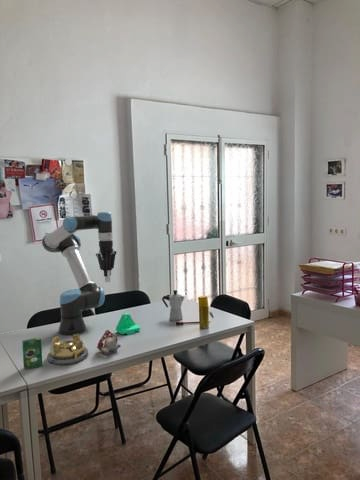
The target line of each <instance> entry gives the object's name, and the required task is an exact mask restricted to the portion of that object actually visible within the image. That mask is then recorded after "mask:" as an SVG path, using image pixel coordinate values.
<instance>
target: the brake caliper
mask: <svg viewBox="0 0 360 480" xmlns="http://www.w3.org/2000/svg"><path fill="white" fill-rule="evenodd" d="M118 337H119V335H117V334H116V332H114V333H113V332H112V331H110V330H109V329H106V330H105V331H104V333H103V335H102V336H101V337H100V339H99V340H98V343H97V346H96V348H97V350H98V352H97V354H98V355H99V356H102V357H104V358H107V355H109V354H112V353H114V352H117V350H118V349H119V348H121V346H122V345H121V344H120V343H118V340H119V339H118ZM103 342H104V343H103Z"/></svg>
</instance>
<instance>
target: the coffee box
mask: <svg viewBox="0 0 360 480" xmlns="http://www.w3.org/2000/svg"><path fill="white" fill-rule="evenodd" d="M42 344H43V343H42V337H33V338H29V339H25V340H23V339H22V359H23V362H22V363H23V370H29V369H30V370H31V369H34V368H38V367H42V366H43V352H42V351H43V350H42V349H43V347H42ZM43 367H44V366H43Z"/></svg>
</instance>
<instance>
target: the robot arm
mask: <svg viewBox="0 0 360 480" xmlns="http://www.w3.org/2000/svg"><path fill="white" fill-rule="evenodd" d="M85 230H97V234H98V240H99V241H98V246H99V251H98V253H95V256H96V258H97V260H98V264H99V269H100V270H101V271H102V272H103V276H104V282H106V283H111V276H112V270H113V269H114V268H115V260H116V255H117V252H118V251H116V250H114V248H113V246H114V244H113V243H114V240H113V218H112V213H111V211H99V212H97V215H94V214H91V215H83V216H82V215H81V216H68V217H64V218H63V221H62V224H61V225H60V226H59V227H58V228H56V229H54V230H52V232H49V233H46V234H45V235H44V236H43V237H42V240H41V241H42V242H41V245H42V248H43V250H44V249H45V250H46V251H47V252H49V253H61V254H62V257H64V258H66V261H67V262H68V266H69V268H70V270H71V272H72V275H73V276H74V279H75V282H76V283H77V286H78V288H73V289H69V290H65V291H63V292H62V293H61V294H60V295H59V296H60V297H59V304H60V308H59V309H60V324H59V327H58V333H59V334H60V335H64V336H73V335H74V334H79V335H80V334H81V333H84V332H85V331H86V330H87V328H86V326H87V325H86V324H85V321H84V318H83V313H82V312H83V311H88V310H91V309H97V308H99V307H101V306H103V305H104V303H105V300H106V299H105V297H106V294H105V290H104V289H103V287H102V286H98V285H97V283H96V282H94V281H93V280H92V277H91V276H90V273H89V271H88V269H87V266H86V264H85V262H84V260H83V258H82V255H81V253H80V250H81V246H82V243H81V238H80V236H79V235H78V233H76V232H77V231H85Z"/></svg>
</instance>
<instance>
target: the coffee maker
mask: <svg viewBox="0 0 360 480" xmlns="http://www.w3.org/2000/svg"><path fill="white" fill-rule="evenodd" d="M172 291H173V294H172V293H171V294H167V295H164V296H162V298H161V301H162V302H163V304H164V305H165V307H166V308H169V306H170V311H169V320H170V321H174V322H175V321H176V322H178V321H181V320H182V321H183V311H182V304H183V301H184V299H185V298H186V296H183V295H182V294H179V293H178V290H177V289H174V290H172ZM166 301H168V302H169V305H168V304H167V302H166Z"/></svg>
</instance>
